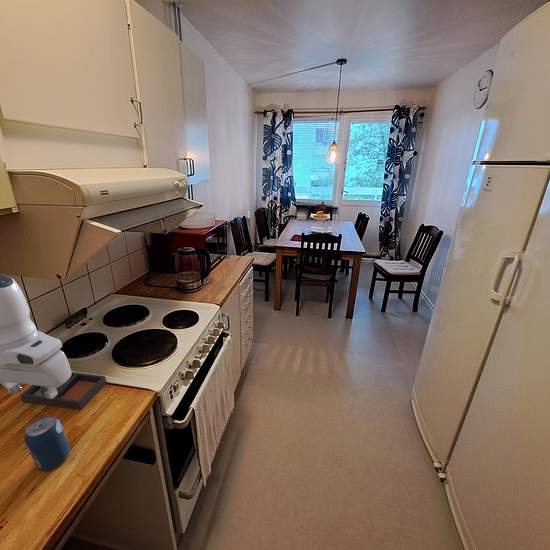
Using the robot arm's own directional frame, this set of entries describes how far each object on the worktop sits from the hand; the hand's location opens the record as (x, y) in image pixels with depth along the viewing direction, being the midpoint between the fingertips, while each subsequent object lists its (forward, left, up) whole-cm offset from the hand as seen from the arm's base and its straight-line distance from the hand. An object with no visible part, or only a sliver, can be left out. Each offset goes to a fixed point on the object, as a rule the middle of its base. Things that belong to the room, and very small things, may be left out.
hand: (34, 394), depth 67 cm
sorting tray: (-13, +18, -19) cm, 29 cm away
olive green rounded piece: (-18, +18, -19) cm, 32 cm away
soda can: (+2, -2, -19) cm, 19 cm away
